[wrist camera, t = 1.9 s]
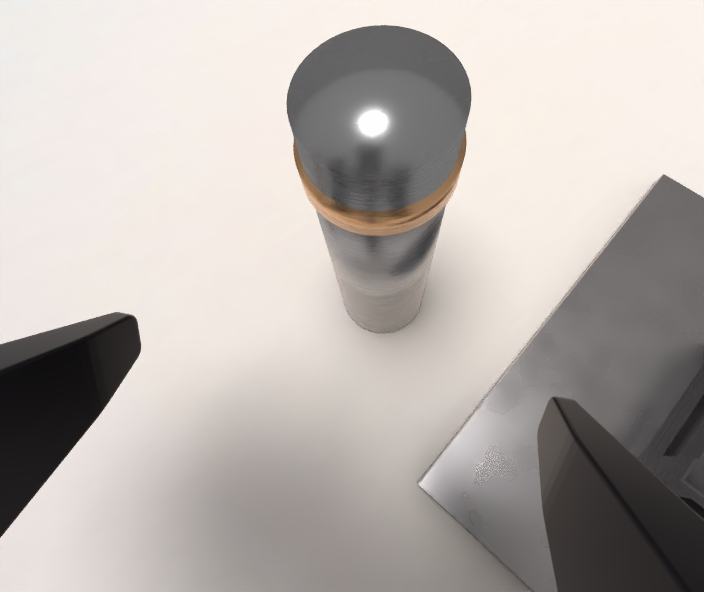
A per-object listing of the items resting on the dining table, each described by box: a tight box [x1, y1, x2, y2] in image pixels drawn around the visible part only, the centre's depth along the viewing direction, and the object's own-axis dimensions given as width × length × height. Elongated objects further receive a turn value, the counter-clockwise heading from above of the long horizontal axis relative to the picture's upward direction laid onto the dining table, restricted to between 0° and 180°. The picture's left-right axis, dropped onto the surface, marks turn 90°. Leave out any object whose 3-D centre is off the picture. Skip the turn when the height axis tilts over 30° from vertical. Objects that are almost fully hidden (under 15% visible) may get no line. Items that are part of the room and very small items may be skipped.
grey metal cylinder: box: [287, 25, 471, 333], centre depth 16 cm, size 4×4×14 cm
